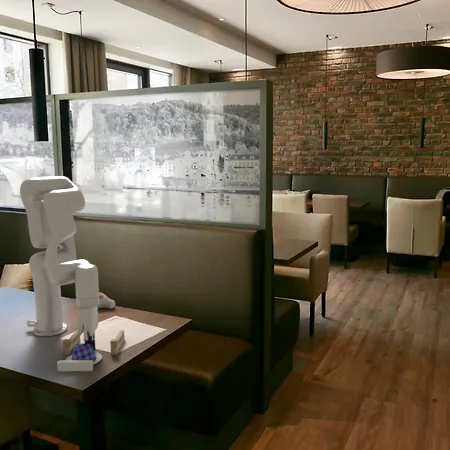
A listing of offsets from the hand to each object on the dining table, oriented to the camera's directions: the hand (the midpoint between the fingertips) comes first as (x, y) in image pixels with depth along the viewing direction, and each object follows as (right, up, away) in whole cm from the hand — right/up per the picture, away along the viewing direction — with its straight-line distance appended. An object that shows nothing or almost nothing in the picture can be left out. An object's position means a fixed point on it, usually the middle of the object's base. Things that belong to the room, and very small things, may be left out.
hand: (90, 351), depth 167 cm
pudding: (-1, -2, -5) cm, 6 cm away
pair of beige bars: (0, 0, +7) cm, 7 cm away
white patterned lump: (-7, +7, +48) cm, 49 cm away
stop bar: (-2, -3, -12) cm, 12 cm away
